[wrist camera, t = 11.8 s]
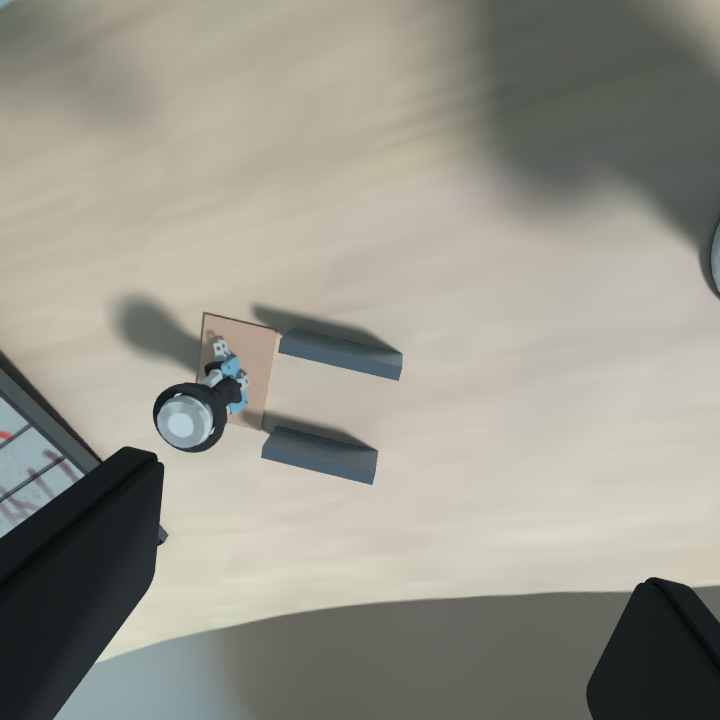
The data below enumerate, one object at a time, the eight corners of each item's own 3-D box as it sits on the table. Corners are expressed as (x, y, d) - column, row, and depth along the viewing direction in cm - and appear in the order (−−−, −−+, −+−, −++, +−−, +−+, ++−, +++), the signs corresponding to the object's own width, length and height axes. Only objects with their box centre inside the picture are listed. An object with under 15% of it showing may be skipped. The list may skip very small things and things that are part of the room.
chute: (402, 353, 38) (402, 366, 35) (375, 462, 42) (372, 485, 38) (293, 328, 39) (280, 338, 35) (274, 437, 42) (261, 457, 38)
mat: (277, 330, 39) (276, 330, 39) (261, 429, 42) (260, 430, 42) (206, 313, 39) (204, 314, 39) (195, 413, 42) (193, 414, 42)
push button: (197, 342, 40) (131, 375, 30) (253, 335, 39) (203, 367, 30) (213, 409, 42) (156, 461, 32) (267, 404, 41) (224, 456, 31)
